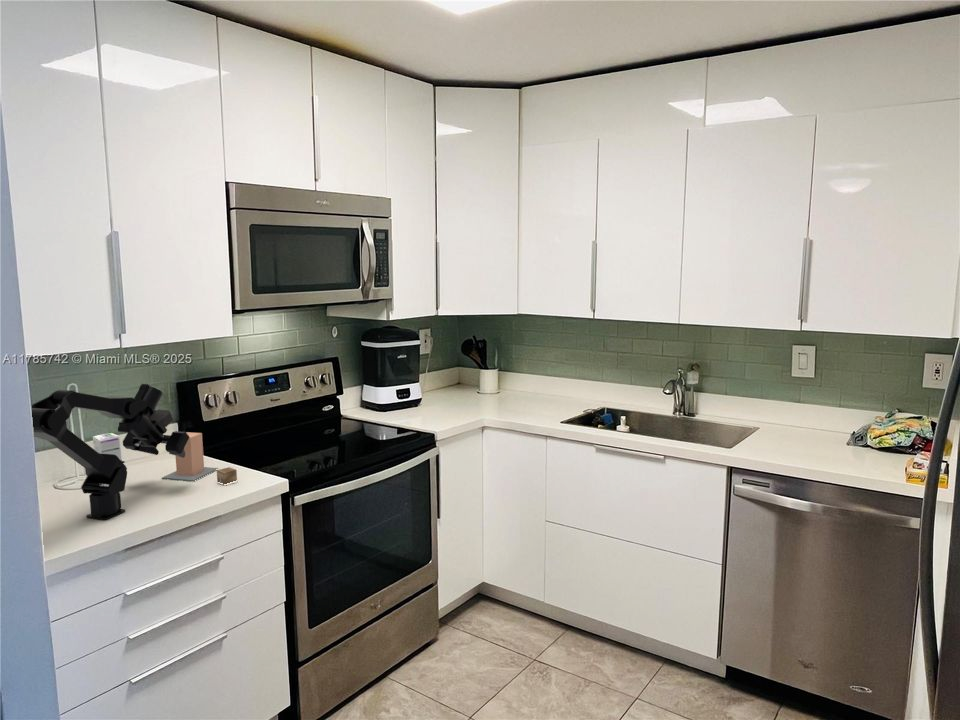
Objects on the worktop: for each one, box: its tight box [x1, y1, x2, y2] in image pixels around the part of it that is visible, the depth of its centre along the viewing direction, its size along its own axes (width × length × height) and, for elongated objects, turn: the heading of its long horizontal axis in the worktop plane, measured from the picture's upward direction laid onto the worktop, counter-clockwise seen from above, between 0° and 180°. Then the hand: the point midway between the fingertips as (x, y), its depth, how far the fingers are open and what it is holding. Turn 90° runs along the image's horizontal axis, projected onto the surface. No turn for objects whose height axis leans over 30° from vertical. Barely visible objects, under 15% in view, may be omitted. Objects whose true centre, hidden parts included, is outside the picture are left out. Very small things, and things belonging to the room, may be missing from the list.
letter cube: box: [216, 466, 238, 484], centre depth 199 cm, size 4×4×4 cm
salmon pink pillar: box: [175, 431, 205, 476], centre depth 206 cm, size 6×6×12 cm
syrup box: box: [92, 432, 123, 486], centre depth 198 cm, size 6×6×14 cm
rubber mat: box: [161, 466, 219, 482], centre depth 207 cm, size 12×11×1 cm
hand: (170, 454), depth 197 cm, fingers open, 9 cm apart
